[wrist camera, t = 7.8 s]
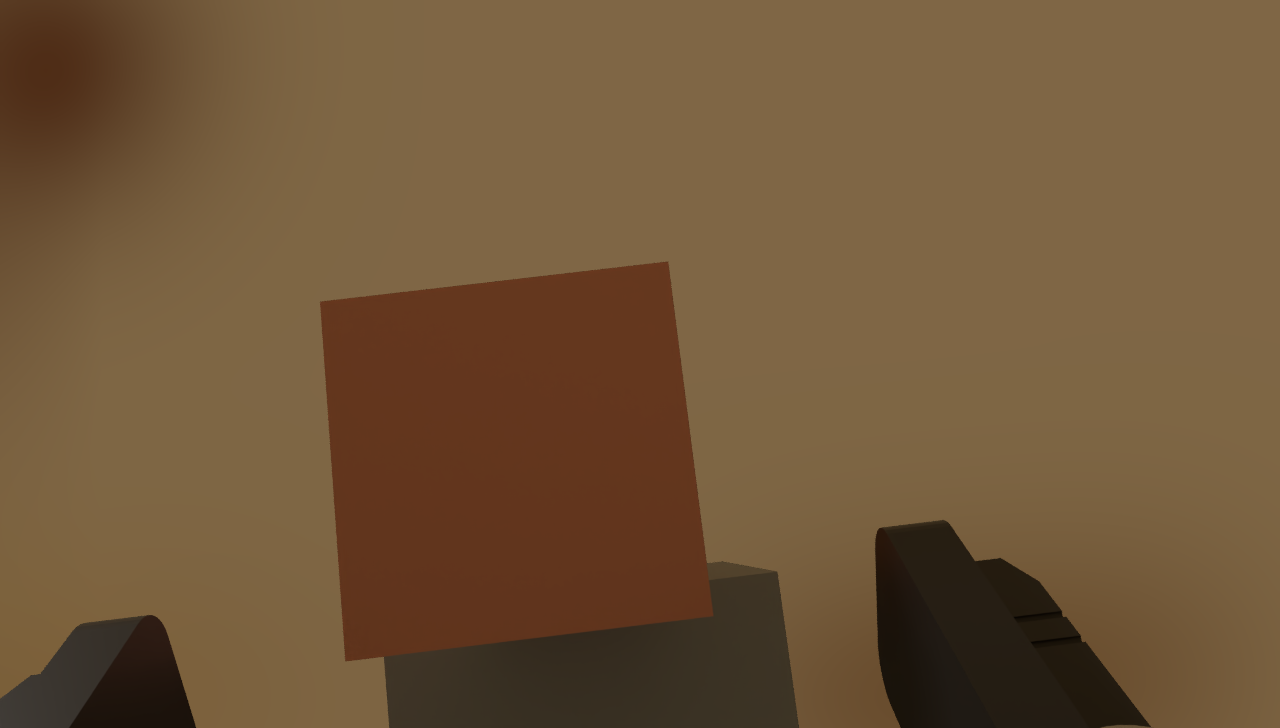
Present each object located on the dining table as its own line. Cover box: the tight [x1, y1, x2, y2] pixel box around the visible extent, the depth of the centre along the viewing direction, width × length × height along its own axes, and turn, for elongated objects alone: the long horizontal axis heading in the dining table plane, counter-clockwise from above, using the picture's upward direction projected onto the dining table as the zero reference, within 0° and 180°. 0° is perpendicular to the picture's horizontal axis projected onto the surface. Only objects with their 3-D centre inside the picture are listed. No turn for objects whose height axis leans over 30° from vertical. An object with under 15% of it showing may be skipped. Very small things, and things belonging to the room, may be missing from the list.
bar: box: [320, 262, 713, 661], centre depth 25 cm, size 26×4×4 cm, turn 0°
